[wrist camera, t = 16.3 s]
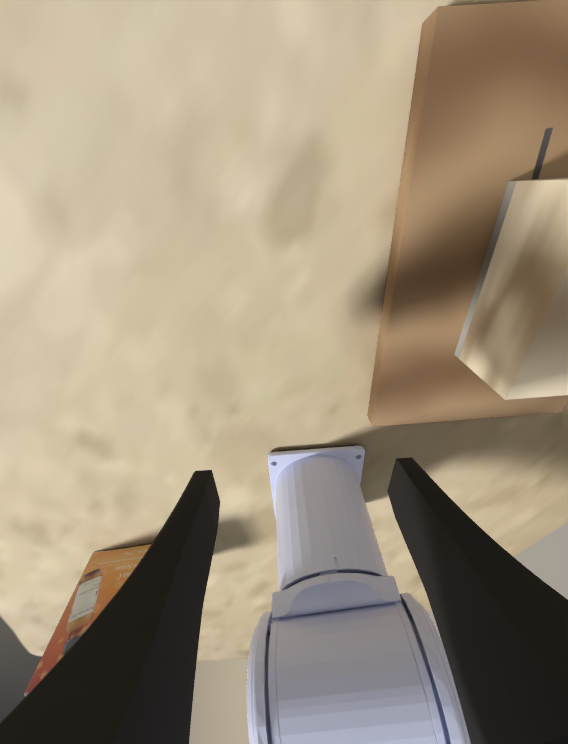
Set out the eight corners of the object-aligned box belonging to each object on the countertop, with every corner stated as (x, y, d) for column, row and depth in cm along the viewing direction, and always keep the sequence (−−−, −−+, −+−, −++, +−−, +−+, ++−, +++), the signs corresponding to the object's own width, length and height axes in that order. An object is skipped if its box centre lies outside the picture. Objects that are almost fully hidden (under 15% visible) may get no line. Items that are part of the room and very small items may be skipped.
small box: (160, 539, 30) (115, 685, 21) (181, 563, 33) (150, 699, 24) (90, 551, 31) (19, 697, 22) (118, 573, 34) (65, 709, 25)
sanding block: (533, 348, 18) (605, 392, 14) (454, 354, 18) (504, 399, 14) (618, 173, 13) (764, 168, 9) (508, 181, 13) (609, 178, 9)
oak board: (547, 402, 22) (560, 412, 21) (367, 415, 22) (372, 426, 21) (780, 1, 11) (832, -18, 10) (422, 23, 11) (438, 6, 10)
